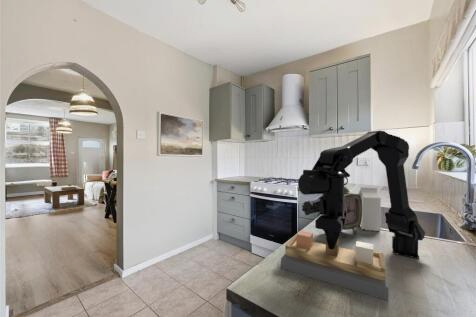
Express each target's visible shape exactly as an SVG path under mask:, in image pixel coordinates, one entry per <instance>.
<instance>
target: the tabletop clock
mask: <svg viewBox="0 0 476 317" xmlns="http://www.w3.org/2000/svg"><path fill="white" fill-rule="evenodd" d="M348 178H349V177H344V179H346V182H344V196H345V200H344V207H345V208H346V209H347V217H344V216H343V217H341V218H343V219H346V221H345V223H344V226H343V229H342V231H343V230H344V231H348V230H352V233H353V234H355V235H356V234H358V230H356V228H358V227H359V225H360V224H361V219H362V199H361V196H360V195H358V193H352V192H350V191H349V190H350V189H349V188H348V187H346V185H347V184H348V183H349V179H348ZM324 215H325V214H324ZM340 238H341V235H340V236H339V239H340Z"/></svg>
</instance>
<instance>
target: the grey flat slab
mask: <svg viewBox="0 0 476 317" xmlns="http://www.w3.org/2000/svg"><path fill="white" fill-rule="evenodd" d="M280 269H282V270H285V271H289V272H292V273H296V274H297V275H298V274H299V275H301V276H305V277H308V278H312V279H315V280H319V281H322V282H324V283H325V282H326V283H328V284H332V285H336V286H339V287H342V288H345V289H349V290H352V291H355V292H359V293H362V294H366V295H369V296H372V297H376V298H379V299H383V300H386V301H389V282H388V275H387V273H386V277H385V281H383V280H379V279H376V278H372V277H368V276H364V275H360V274H356V273H352V272H349V271H345V270H341V269H337V268H333V267H329V266H325V265H322V264H318V263H314V262H310V261H306V260H302V259H298V258H295V257H291V256H287V255H286V252H284V254H283V255H282V256H281V258H280Z"/></svg>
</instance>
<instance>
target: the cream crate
mask: <svg viewBox="0 0 476 317" xmlns="http://www.w3.org/2000/svg"><path fill="white" fill-rule="evenodd" d="M355 251H356V260H355V261H359V262H363V263H368V264H372V265H373V251H374V244H373V243H368V242H364V241H358V240H356V242H355Z"/></svg>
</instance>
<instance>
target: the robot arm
mask: <svg viewBox="0 0 476 317" xmlns="http://www.w3.org/2000/svg"><path fill="white" fill-rule="evenodd" d="M370 149H371V150H373V151H374V152H376V153H377V157H378V160H379V161H380V162H381V163H382V164H383V165H384V167H385V172H386V180H387V188H388V194H389V202H390V207H389V209H388V211H386V212H384V216H385V224H386V225H387V229H388V232H389V233H393V235H392V236H391V248H392V250H393V253H394V254H396V255H399V256H400V255H401V256H405V257H410V258H414V259H420V255H419V241H423V239H425V236H426V232H425V230H424V229H423V227H422V226H421V224H420V223H419V219H418V217H417V214H416V213H415V212H414V210H413V209H412V208H411V207H410V203H409V196H408V190H407V188H408V187H407V180H406V172H405V166H404V165H405V163H406V161H407V160H408V158H409V156H410V155H409V154H410V153H409V150H410V145H409V143H408V141H406V140H405V139H404V138H401V137H400V136H397V135H393V134H390V133H388V132H386V131H384V130H372V131H371V130H370V131H368V132H366V133H365V134H363V135H361V136H359V137H357V138H355V139H353V140H351V141H349V142H348V143H345V144H343V145H341V146H335V147H331V148H328V149H324V150H322V151H321V152H320V153H319V157H318V159H317V160H316V163H315V164H314V165H313V167H312V169H303V170H302V174H300V176H299V178H298V181H297V186H298V190H299V191H300V193H301V194H302V195H304V196H305V195H307V196H308V195H320V194H322V195H321V196H320V197H319V199H315V200H310V199H309V200H308V201H307V200H305V201H304V202H303V204H301V211H303V213H304V215H305V216H309V215H312V214H316V213H319V216H318V217H317V218H316V219H315V221H314V222H315V223H314V224H315V225H314V226H315V227H314V228H316V229H319V230H322V231H323V232H324V235H325V239H326V238H327V242H328V246H329V249H334V247H335V244H336V242H337V240H338V238H339V236H340V237H341V234H342V232H343V230H342V229H343V226H344V223H345V221H346V219H343V218H341V217H343V216H344V217H347V209H346V208H345V207H344V200H345V196H344V187H345V186H344V184H345V178H344V177H347V178H350V177H351V174H350V173H349V172H347V171H346V168H348V167H349V166H350V165H351V164H352V163H353V162H354V159H355V158H356V157H358V156H359V155H361V154H363V153H365V152H366V151H368V150H370ZM324 214H325V215H324ZM339 239H340V238H339Z"/></svg>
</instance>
